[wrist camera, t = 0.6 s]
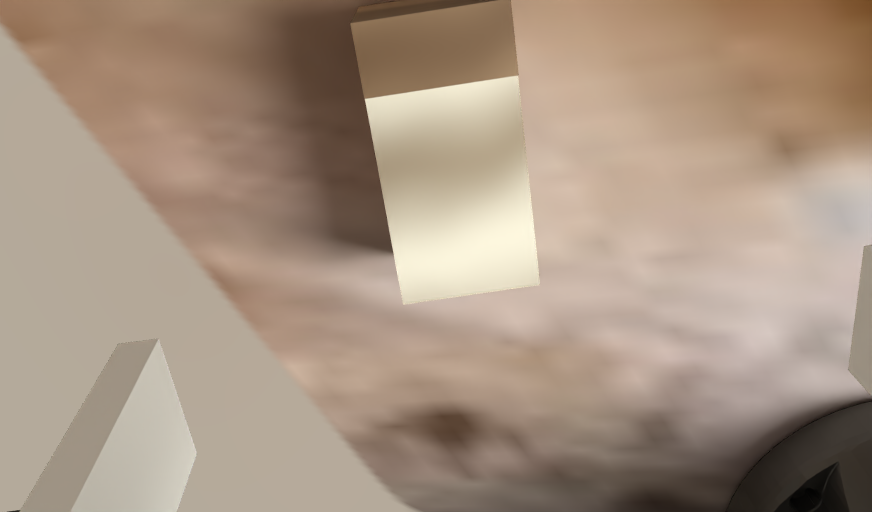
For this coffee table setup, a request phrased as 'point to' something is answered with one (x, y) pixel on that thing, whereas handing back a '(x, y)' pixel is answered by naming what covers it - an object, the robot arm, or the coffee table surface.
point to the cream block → (449, 144)
